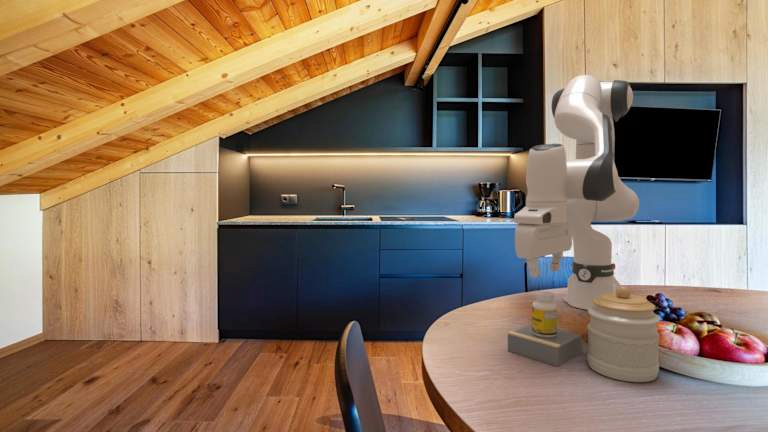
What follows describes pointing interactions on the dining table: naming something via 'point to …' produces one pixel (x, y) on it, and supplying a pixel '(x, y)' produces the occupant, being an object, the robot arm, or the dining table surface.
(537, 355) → the block
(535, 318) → the supplement bottle
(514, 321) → the dining table surface
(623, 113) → the robot arm
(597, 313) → the jar
